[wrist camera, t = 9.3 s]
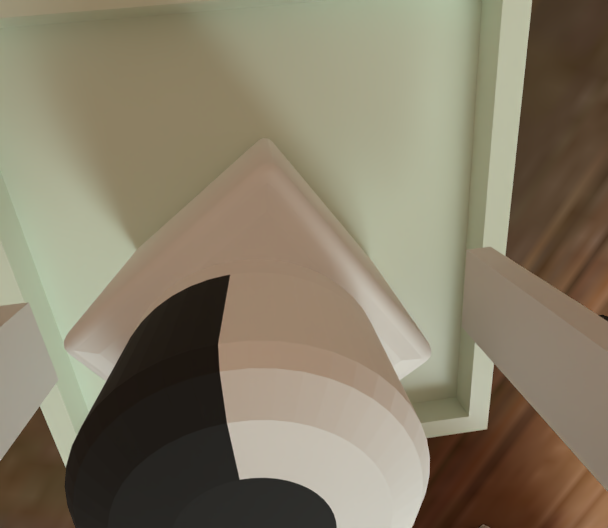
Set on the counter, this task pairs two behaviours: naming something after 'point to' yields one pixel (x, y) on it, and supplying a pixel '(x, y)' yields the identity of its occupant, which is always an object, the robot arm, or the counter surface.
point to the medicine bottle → (249, 372)
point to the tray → (244, 134)
